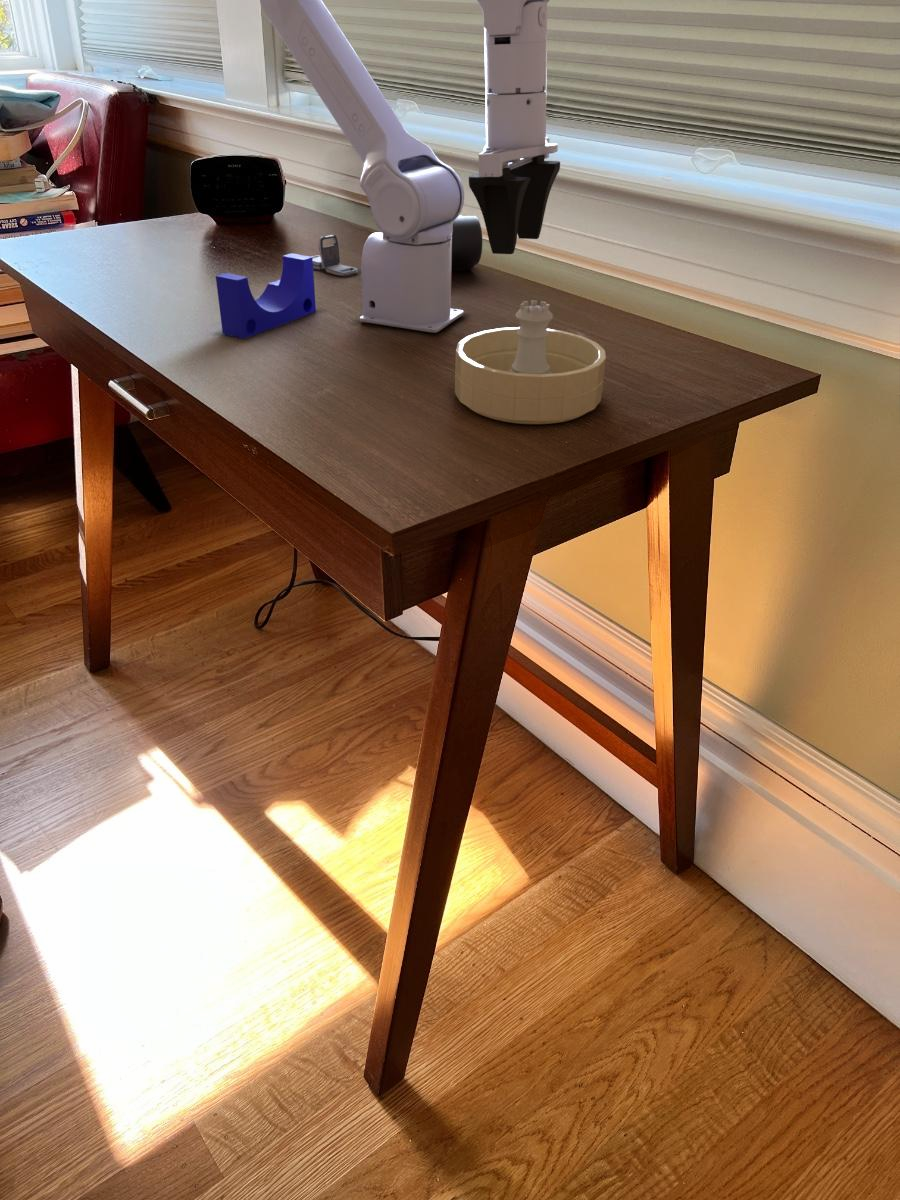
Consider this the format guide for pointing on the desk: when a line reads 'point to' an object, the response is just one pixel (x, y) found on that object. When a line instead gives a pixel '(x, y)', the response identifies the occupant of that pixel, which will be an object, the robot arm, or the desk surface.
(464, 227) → the end cap
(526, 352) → the rook chess piece
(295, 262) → the blue pipe saddle bracket
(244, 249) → the desk surface
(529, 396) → the pan
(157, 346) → the desk surface
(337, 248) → the strap clip
